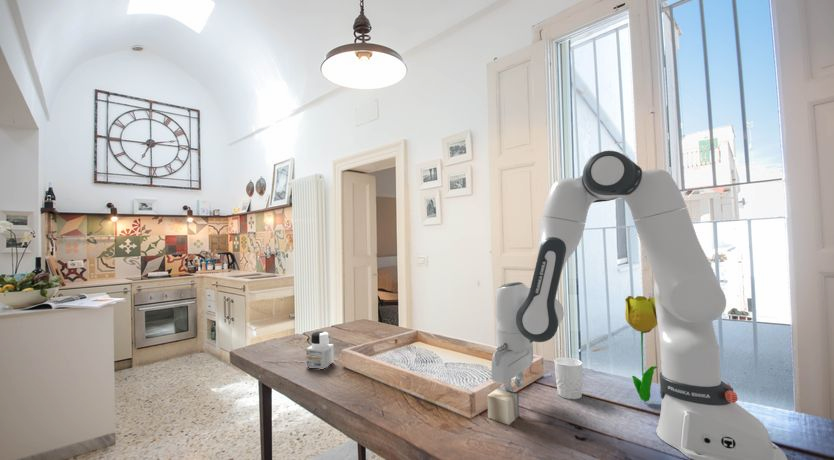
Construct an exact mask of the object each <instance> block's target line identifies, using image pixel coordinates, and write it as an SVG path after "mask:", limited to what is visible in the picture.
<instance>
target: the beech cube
mask: <svg viewBox="0 0 834 460" xmlns="http://www.w3.org/2000/svg"><path fill="white" fill-rule="evenodd" d="M486 400H487V418H488V419H490V418H491V420H493V421H496V422H499V423H502V424H505V425H508V426H509V425H511V424H512V423H513V422H514V421H516V419H517V418H519V417H520V407H519V406H520V403H519V392H516V391H513V392H512V391H508V390H505V388H504V389H503V388H500V387H498V388H495V390H492V391H491V392H490V393H488V394H487V395H486Z"/></svg>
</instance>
